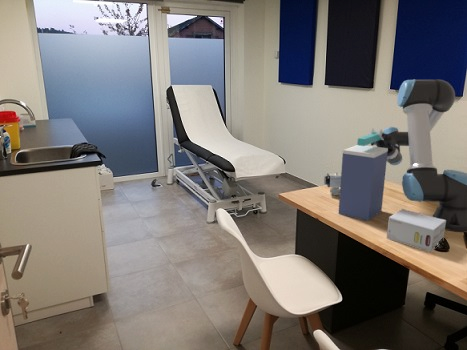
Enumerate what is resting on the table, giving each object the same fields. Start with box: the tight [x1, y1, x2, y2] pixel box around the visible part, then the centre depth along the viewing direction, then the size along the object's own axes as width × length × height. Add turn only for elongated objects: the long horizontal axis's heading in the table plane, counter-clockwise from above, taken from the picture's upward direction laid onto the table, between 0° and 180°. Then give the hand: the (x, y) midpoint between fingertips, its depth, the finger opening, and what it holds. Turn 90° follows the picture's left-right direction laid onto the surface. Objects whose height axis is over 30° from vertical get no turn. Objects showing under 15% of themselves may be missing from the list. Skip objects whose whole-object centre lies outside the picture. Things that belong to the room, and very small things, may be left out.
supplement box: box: [386, 208, 446, 253], centre depth 150 cm, size 17×13×9 cm
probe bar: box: [356, 131, 385, 146], centre depth 175 cm, size 24×3×3 cm, turn 140°
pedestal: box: [338, 144, 388, 222], centre depth 176 cm, size 16×14×30 cm
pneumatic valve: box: [323, 172, 341, 196], centre depth 203 cm, size 6×12×12 cm, turn 88°
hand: (375, 131), depth 177 cm, fingers closed on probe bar, 3 cm apart
